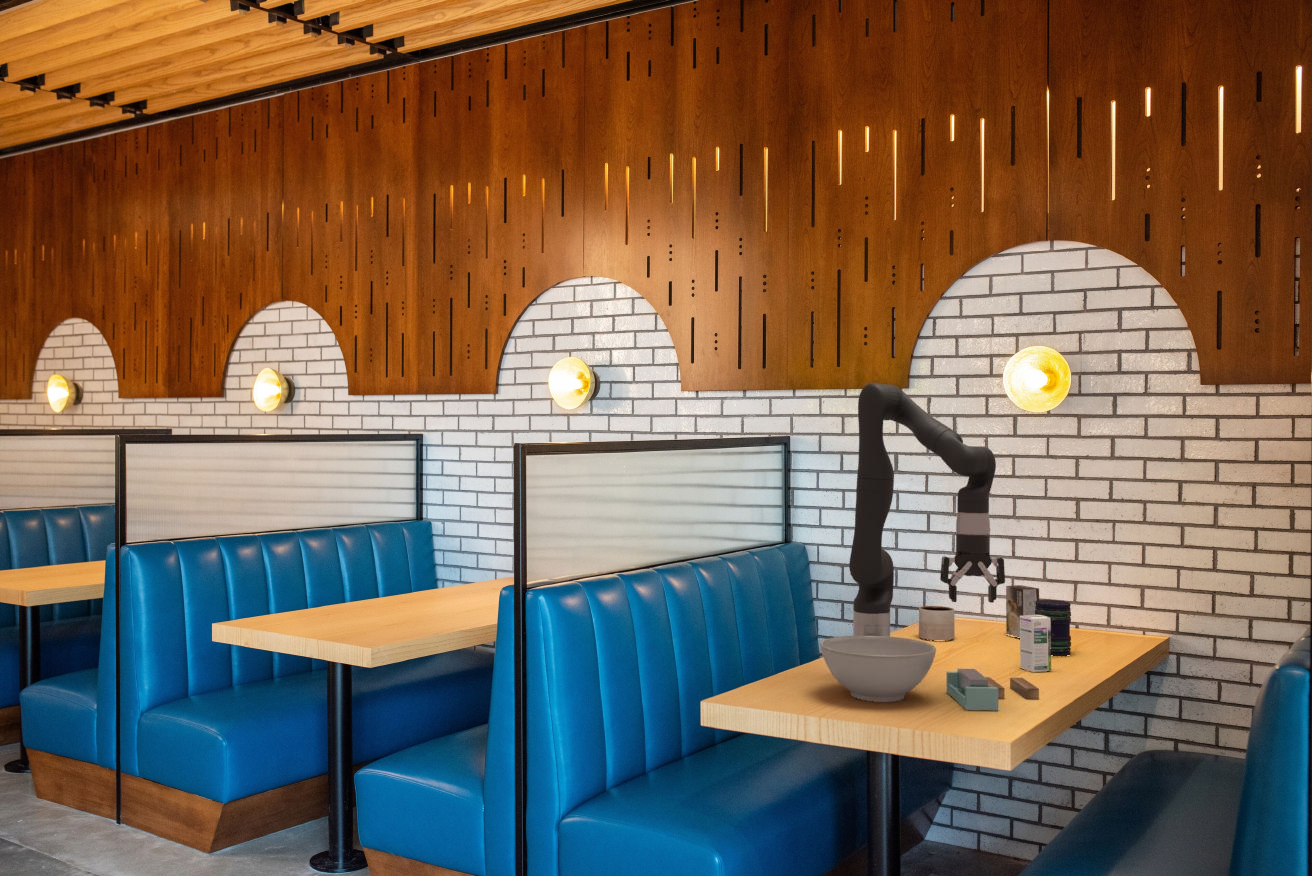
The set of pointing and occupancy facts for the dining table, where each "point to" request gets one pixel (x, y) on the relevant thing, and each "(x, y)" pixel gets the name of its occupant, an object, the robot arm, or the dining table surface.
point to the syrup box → (1035, 643)
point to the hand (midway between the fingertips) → (972, 601)
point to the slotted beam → (1016, 688)
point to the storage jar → (1057, 624)
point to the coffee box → (1019, 606)
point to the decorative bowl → (878, 665)
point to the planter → (936, 623)
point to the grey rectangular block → (970, 679)
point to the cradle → (973, 695)
